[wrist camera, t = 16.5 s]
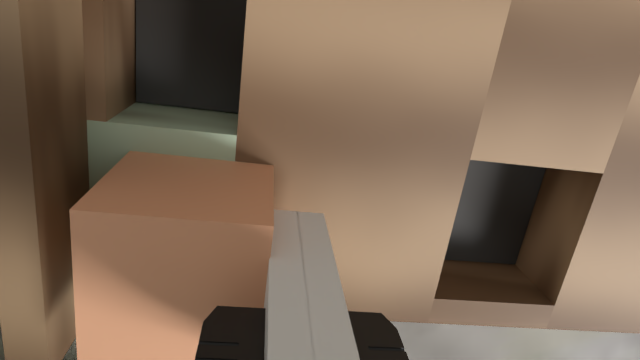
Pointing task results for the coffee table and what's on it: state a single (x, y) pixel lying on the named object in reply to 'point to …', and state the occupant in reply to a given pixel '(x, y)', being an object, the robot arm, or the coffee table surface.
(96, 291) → the cube
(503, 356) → the coffee table surface
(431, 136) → the wooden box
